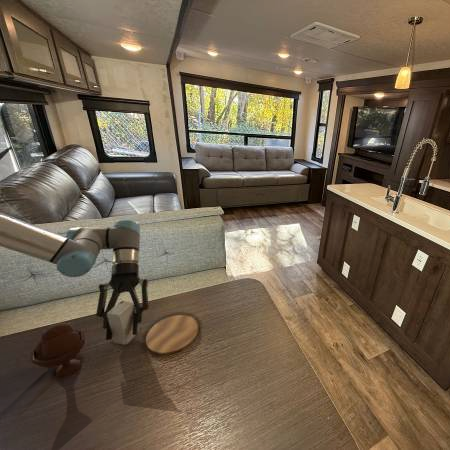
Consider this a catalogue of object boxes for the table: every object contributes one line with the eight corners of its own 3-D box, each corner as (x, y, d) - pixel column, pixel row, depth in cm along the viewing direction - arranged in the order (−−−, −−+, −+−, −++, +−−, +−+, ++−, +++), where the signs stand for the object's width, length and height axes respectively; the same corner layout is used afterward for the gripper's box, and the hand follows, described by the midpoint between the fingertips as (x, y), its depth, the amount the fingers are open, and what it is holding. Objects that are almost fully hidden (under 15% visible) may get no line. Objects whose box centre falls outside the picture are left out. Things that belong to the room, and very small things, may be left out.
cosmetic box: (126, 345, 78) (119, 316, 73) (113, 343, 78) (105, 313, 73) (140, 330, 84) (134, 302, 79) (127, 328, 84) (120, 300, 79)
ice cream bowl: (33, 375, 68) (13, 335, 62) (81, 346, 77) (68, 309, 72) (52, 395, 64) (32, 355, 58) (100, 362, 73) (88, 324, 67)
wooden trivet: (134, 351, 78) (134, 349, 77) (164, 314, 92) (163, 312, 92) (184, 357, 77) (184, 355, 77) (205, 319, 92) (205, 318, 91)
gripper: (159, 263, 91) (159, 330, 83) (95, 270, 84) (89, 343, 76) (155, 258, 84) (155, 330, 77) (86, 265, 77) (78, 345, 70)
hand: (122, 337), depth 77 cm, fingers closed on cosmetic box, 6 cm apart
